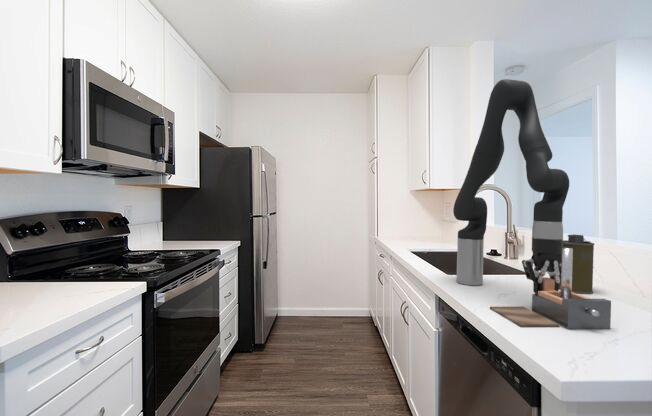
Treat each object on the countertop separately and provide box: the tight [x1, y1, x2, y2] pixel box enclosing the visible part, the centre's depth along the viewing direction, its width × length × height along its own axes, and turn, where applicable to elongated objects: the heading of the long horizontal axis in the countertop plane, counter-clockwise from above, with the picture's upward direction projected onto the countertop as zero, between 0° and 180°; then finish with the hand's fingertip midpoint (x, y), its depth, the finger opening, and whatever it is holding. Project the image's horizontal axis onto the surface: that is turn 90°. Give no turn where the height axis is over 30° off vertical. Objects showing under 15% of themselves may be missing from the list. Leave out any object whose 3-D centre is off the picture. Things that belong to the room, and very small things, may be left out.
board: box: [489, 306, 560, 328], centre depth 88 cm, size 14×10×1 cm
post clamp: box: [531, 248, 612, 330], centre depth 86 cm, size 15×11×19 cm
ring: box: [538, 276, 592, 305], centre depth 90 cm, size 14×9×4 cm, turn 3°
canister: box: [558, 234, 595, 295], centre depth 117 cm, size 11×10×20 cm
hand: (545, 294), depth 95 cm, fingers open, 4 cm apart
